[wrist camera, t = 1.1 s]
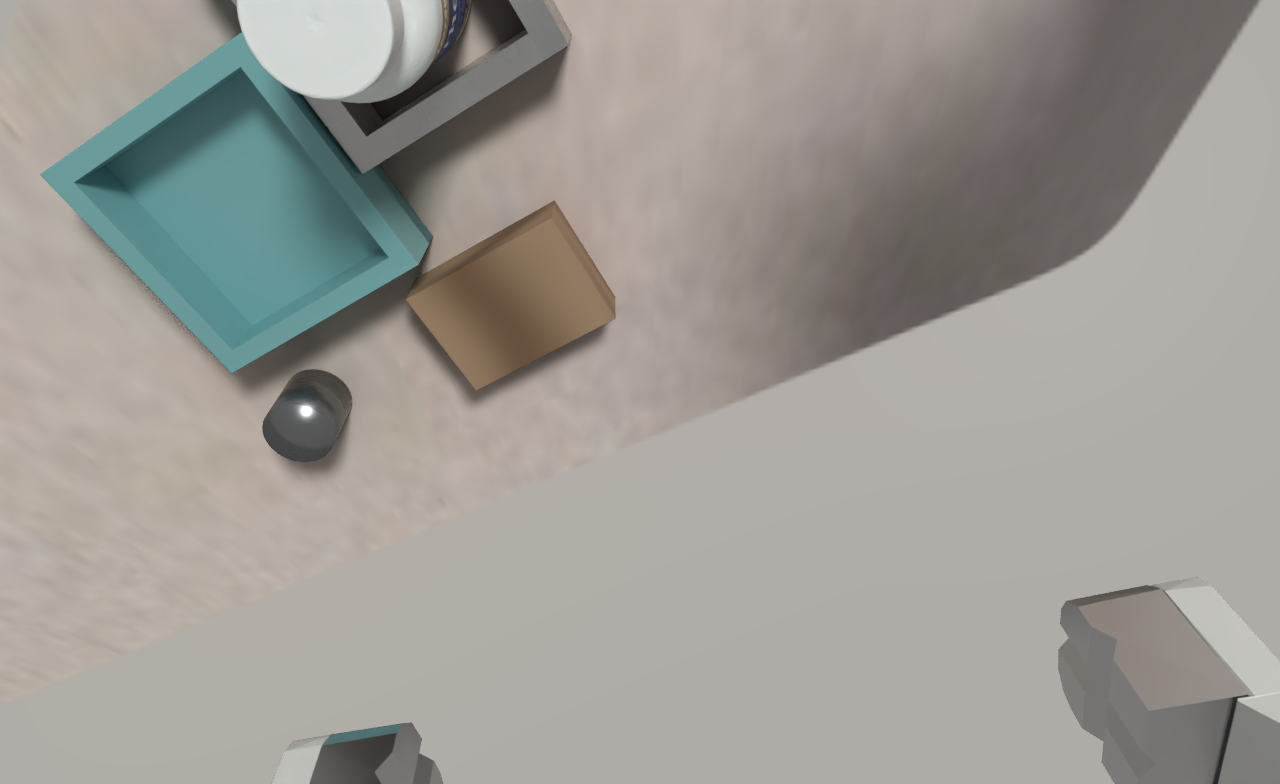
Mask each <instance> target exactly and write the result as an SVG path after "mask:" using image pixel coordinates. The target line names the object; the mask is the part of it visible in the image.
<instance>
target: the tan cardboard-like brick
mask: <svg viewBox="0 0 1280 784" xmlns="http://www.w3.org/2000/svg"><path fill="white" fill-rule="evenodd" d="M406 301H407V302H408V303H409V305H410V306H411V307H412V308H413V310H414V311H415V312H416V314H417V315H418V316H419V317H420V319H421V320H422V321H423V323H424V324H425V325H426V327H427V328H428V329H429V330H430V332H431V333H432V334H433V336H434V337H435V338H436V339H437V341H438V342H439V343H440V345H441V346H442V347H443V348H444V350H445V351H446V352H447V354H448V355H449V356H450V357H451V359H452V360H453V361H454V363H455V364H456V365H457V366H458V368H459V369H460V370H461V372H462V373H463V374H464V376H465V377H466V378H467V379H468V381H469V382H470V383H471V385H472V386H473V387H474V388H475V390H478V389H480V388H482V387H484V386H486V385H488V384H490V383H492V382H494V381H496V380H497V379H499V378H501V377H503V376H505V375H507V374H509V373H511V372H513V371H515V370H517V369H519V368H521V367H523V366H525V365H527V364H528V363H530V362H532V361H534V360H536V359H538V358H540V357H542V356H544V355H546V354H548V353H550V352H552V351H554V350H556V349H558V348H560V347H561V346H563V345H565V344H567V343H569V342H571V341H573V340H575V339H577V338H579V337H581V336H583V335H585V334H587V333H589V332H591V331H592V330H594V329H596V328H598V327H600V326H602V325H604V324H606V323H608V322H610V321H612V320H614V319H615V296H614V294H613V293H612V291H611V290H610V288H609V286H608V285H607V283H606V282H605V280H604V278H603V277H602V275H601V274H600V272H599V270H598V269H597V267H596V266H595V264H594V262H593V261H592V259H591V258H590V256H589V255H588V253H587V251H586V250H585V248H584V247H583V245H582V243H581V242H580V240H579V239H578V237H577V235H576V234H575V232H574V231H573V229H572V227H571V226H570V224H569V223H568V221H567V219H566V218H565V216H564V215H563V213H562V211H561V210H560V208H559V207H558V205H557V203H556V202H555V201H553V202H551V203H549V204H548V205H546V206H544V207H542V208H540V209H539V210H537V211H535V212H533V213H532V214H530V215H528V216H526V217H524V218H523V219H521V220H519V221H517V222H516V223H514V224H512V225H510V226H508V227H507V228H505V229H503V230H501V231H500V232H498V233H496V234H494V235H493V236H491V237H489V238H487V239H485V240H484V241H482V242H480V243H478V244H477V245H475V246H473V247H471V248H469V249H468V250H466V251H464V252H462V253H461V254H459V255H457V256H455V257H453V258H452V259H450V260H448V261H446V262H445V263H443V264H441V265H439V266H437V267H436V268H434V269H432V270H430V271H429V272H427V273H425V274H423V275H421V276H420V277H418V278H416V280H415V282H414V284H413V286H412V288H411V290H410V292H409V294H408V296H407V298H406Z"/></svg>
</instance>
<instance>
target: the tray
mask: <svg viewBox="0 0 1280 784" xmlns="http://www.w3.org/2000/svg"><path fill="white" fill-rule="evenodd" d="M40 175H41V176H42V177H43V178H44V179H45V180H46V181H47V182H48V184H49V185H50V186H51V187H52V188H53V189H54V190H55V191H56V192H57V193H58V194H59V195H60V196H61V197H62V198H63V199H64V200H65V201H66V202H67V203H68V204H69V205H70V206H71V207H72V208H73V209H74V210H75V211H76V213H77V214H78V215H79V216H80V217H81V218H82V219H83V220H84V221H85V222H86V223H87V224H88V225H89V226H90V227H91V228H92V229H93V230H94V231H95V232H96V233H97V234H98V235H99V236H100V237H101V238H102V239H103V240H104V242H105V243H106V244H107V245H108V246H109V247H110V248H111V249H112V250H113V251H114V252H115V253H116V254H117V255H118V256H119V257H120V258H121V259H122V260H123V261H124V262H125V263H126V264H127V265H128V266H129V267H130V268H131V269H132V271H133V272H134V273H135V274H136V275H137V276H138V277H139V278H140V279H141V280H142V281H143V282H144V283H145V284H146V285H147V286H148V287H149V288H150V289H151V290H152V291H153V292H154V293H155V294H156V295H157V296H158V297H159V298H160V300H161V301H162V302H163V303H164V304H165V305H166V306H167V307H168V308H169V309H170V310H171V311H172V312H173V313H174V314H175V315H176V316H177V317H178V318H179V319H180V320H181V321H182V322H183V323H184V324H185V325H186V326H187V327H188V329H189V330H190V331H191V332H192V333H193V334H194V335H195V336H196V337H197V338H198V339H199V340H200V341H201V342H202V343H203V344H204V345H205V346H206V347H207V348H208V349H209V350H210V351H211V352H212V353H213V354H214V355H215V356H216V358H217V359H218V360H219V361H220V362H221V363H222V364H223V365H224V366H225V367H226V368H227V369H228V370H229V371H230V372H231V373H233V372H235V371H236V370H238V369H240V368H242V367H243V366H245V365H247V364H249V363H250V362H252V361H254V360H255V359H257V358H259V357H261V356H262V355H264V354H266V353H267V352H269V351H271V350H273V349H274V348H276V347H278V346H280V345H281V344H283V343H285V342H286V341H288V340H290V339H292V338H293V337H295V336H297V335H298V334H300V333H302V332H304V331H305V330H307V329H309V328H310V327H312V326H314V325H316V324H317V323H319V322H321V321H323V320H324V319H326V318H328V317H329V316H331V315H333V314H335V313H336V312H338V311H340V310H341V309H343V308H345V307H347V306H348V305H350V304H352V303H354V302H355V301H357V300H359V299H360V298H362V297H364V296H366V295H367V294H369V293H371V292H372V291H374V290H376V289H378V288H379V287H381V286H383V285H385V284H386V283H388V282H390V281H391V280H393V279H395V278H397V277H398V276H400V275H402V274H403V273H405V272H407V271H409V270H410V269H412V268H414V267H415V266H417V265H419V263H420V261H421V259H422V257H423V255H424V253H425V251H426V249H427V247H428V245H429V243H430V241H431V240H432V238H433V236H432V235H431V234H430V232H429V231H428V229H427V228H426V227H425V225H424V224H423V223H422V221H421V220H420V219H419V217H418V216H417V215H416V213H415V212H414V210H413V209H412V208H411V206H410V205H409V204H408V202H407V201H406V200H405V198H404V197H403V196H402V194H401V193H400V192H399V190H398V189H397V187H396V186H395V185H394V183H393V182H392V181H391V179H390V178H389V177H388V175H387V174H386V173H385V171H384V170H383V169H382V167H381V166H380V164H378V165H376V166H375V167H373V168H372V169H370V170H368V171H367V172H365V173H364V174H362V173H361V172H360V170H359V169H358V168H357V166H356V165H355V164H354V162H353V161H352V160H351V158H350V157H349V156H348V154H347V153H346V152H345V150H344V149H343V148H342V146H341V145H340V144H339V142H338V141H337V140H336V138H335V137H334V136H333V134H332V133H331V132H330V130H329V129H328V128H327V126H326V125H325V124H324V122H323V121H322V120H321V118H320V117H319V116H318V115H317V113H316V112H315V111H314V109H313V108H312V107H311V105H310V104H309V103H308V101H307V100H306V99H305V97H304V96H303V95H302V94H300V93H297V92H295V91H293V90H291V89H289V88H288V87H286V86H284V85H283V84H281V83H280V82H279V81H277V80H276V79H275V78H274V77H273V76H271V75H270V74H269V73H268V72H267V71H266V70H265V69H264V68H263V67H262V65H261V64H260V63H259V62H258V60H257V59H256V57H255V56H254V55H253V53H252V51H251V50H250V48H249V46H248V44H247V43H246V40H245V38H244V35H243V33H242V32H241V33H240V34H238V35H237V36H236V37H234V38H233V39H231V40H230V41H228V42H227V43H226V44H224V45H223V46H221V47H220V48H219V49H217V50H216V51H214V52H213V53H211V54H210V55H209V56H207V57H206V58H204V59H203V60H202V61H200V62H199V63H197V64H196V65H194V66H193V67H192V68H190V69H189V70H187V71H186V72H185V73H183V74H182V75H180V76H179V77H177V78H176V79H175V80H173V81H172V82H170V83H169V84H168V85H166V86H165V87H163V88H162V89H161V90H159V91H158V92H156V93H155V94H153V95H152V96H151V97H149V98H148V99H146V100H145V101H144V102H142V103H141V104H139V105H138V106H136V107H135V108H134V109H132V110H131V111H129V112H128V113H127V114H125V115H124V116H122V117H121V118H119V119H118V120H117V121H115V122H114V123H112V124H111V125H110V126H108V127H107V128H105V129H104V130H102V131H101V132H100V133H98V134H97V135H95V136H94V137H93V138H91V139H90V140H88V141H87V142H86V143H84V144H83V145H81V146H80V147H78V148H77V149H76V150H74V151H73V152H71V153H70V154H69V155H67V156H66V157H64V158H63V159H61V160H60V161H59V162H57V163H56V164H54V165H53V166H52V167H50V168H49V169H47V170H46V171H44V172H43V173H42V174H40Z"/></svg>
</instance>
